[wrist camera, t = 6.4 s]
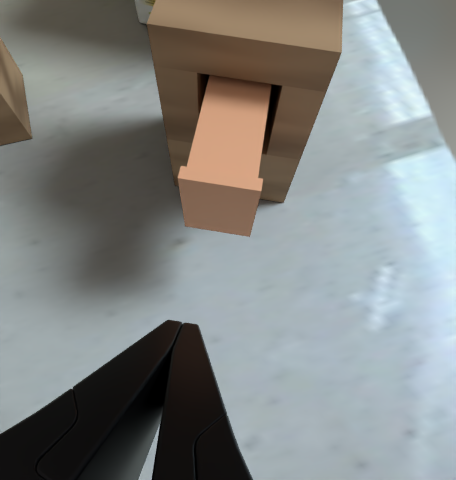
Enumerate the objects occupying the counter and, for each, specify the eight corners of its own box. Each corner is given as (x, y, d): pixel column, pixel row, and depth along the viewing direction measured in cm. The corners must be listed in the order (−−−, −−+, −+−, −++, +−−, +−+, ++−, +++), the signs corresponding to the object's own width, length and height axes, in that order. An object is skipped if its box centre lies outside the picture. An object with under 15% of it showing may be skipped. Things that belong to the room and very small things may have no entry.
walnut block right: (283, 202, 25) (341, 52, 14) (174, 185, 25) (146, 23, 14) (291, 128, 28) (344, -46, 17) (193, 113, 28) (182, -69, 17)
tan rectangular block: (249, 236, 18) (261, 191, 14) (185, 226, 18) (177, 177, 14) (266, 124, 21) (279, 60, 17) (210, 116, 21) (210, 50, 17)
